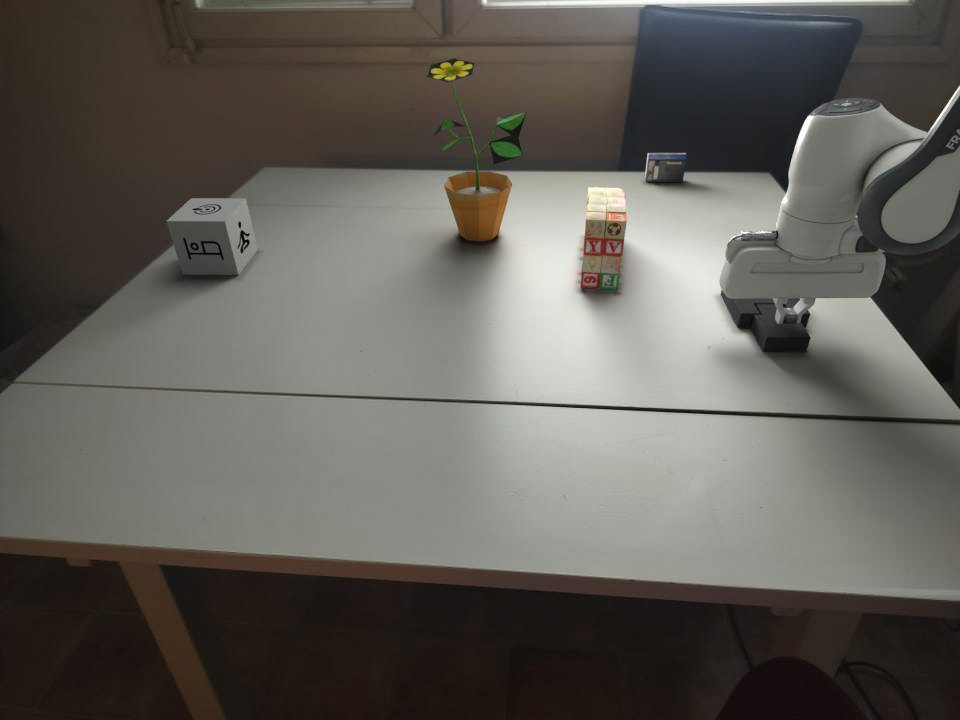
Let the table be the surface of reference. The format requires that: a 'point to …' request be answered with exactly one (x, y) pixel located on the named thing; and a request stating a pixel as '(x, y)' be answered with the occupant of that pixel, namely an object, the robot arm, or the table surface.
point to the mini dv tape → (665, 167)
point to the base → (755, 309)
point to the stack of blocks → (603, 238)
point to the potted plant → (477, 192)
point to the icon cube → (213, 236)
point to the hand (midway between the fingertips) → (786, 321)
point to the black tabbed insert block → (778, 332)
